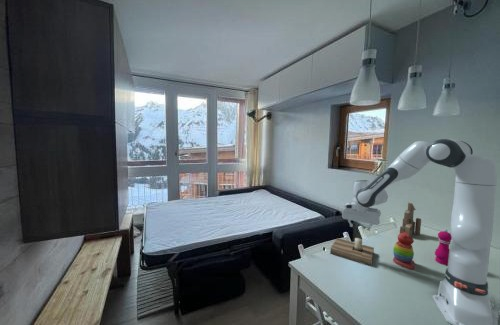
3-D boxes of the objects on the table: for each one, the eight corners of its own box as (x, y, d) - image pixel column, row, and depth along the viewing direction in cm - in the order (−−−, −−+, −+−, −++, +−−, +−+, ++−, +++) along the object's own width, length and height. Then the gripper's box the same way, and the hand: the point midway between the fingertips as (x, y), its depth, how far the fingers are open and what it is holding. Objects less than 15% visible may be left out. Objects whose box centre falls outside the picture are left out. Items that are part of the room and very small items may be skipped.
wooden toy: (409, 238, 152) (411, 205, 150) (399, 234, 158) (402, 203, 156) (420, 235, 158) (423, 203, 156) (411, 231, 164) (413, 201, 162)
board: (370, 265, 114) (371, 259, 114) (330, 253, 127) (330, 248, 126) (373, 252, 129) (373, 247, 128) (336, 242, 141) (337, 237, 141)
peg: (360, 257, 123) (361, 241, 122) (353, 255, 125) (354, 239, 125) (361, 254, 126) (362, 238, 126) (354, 252, 129) (355, 237, 128)
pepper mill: (454, 266, 115) (457, 232, 114) (439, 264, 117) (442, 231, 115) (444, 259, 122) (448, 227, 121) (431, 258, 124) (434, 226, 122)
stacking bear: (414, 271, 110) (416, 239, 109) (391, 263, 117) (393, 233, 115) (414, 262, 118) (417, 233, 117) (393, 256, 125) (395, 228, 124)
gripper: (381, 208, 120) (380, 230, 121) (343, 202, 132) (343, 223, 133) (380, 210, 115) (379, 234, 116) (341, 204, 127) (341, 226, 128)
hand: (359, 228), depth 124 cm, fingers open, 8 cm apart
